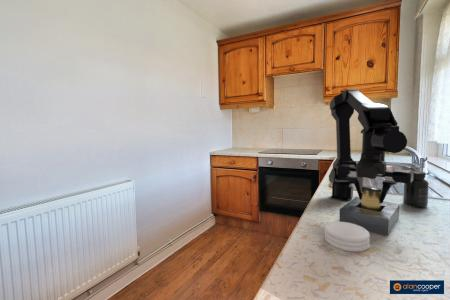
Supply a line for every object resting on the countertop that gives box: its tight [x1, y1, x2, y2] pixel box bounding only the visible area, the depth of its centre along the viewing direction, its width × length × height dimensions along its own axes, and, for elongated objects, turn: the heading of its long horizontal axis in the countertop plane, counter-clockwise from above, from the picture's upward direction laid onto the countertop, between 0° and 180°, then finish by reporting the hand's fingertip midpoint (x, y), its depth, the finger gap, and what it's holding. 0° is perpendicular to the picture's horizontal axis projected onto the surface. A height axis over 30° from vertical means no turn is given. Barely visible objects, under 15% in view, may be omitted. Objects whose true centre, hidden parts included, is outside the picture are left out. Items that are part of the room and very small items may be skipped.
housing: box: [338, 196, 401, 237], centre depth 71 cm, size 12×16×4 cm
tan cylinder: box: [361, 185, 382, 212], centre depth 71 cm, size 5×5×10 cm
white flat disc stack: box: [324, 221, 371, 253], centre depth 59 cm, size 10×10×4 cm
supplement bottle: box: [402, 170, 430, 209], centre depth 83 cm, size 7×7×12 cm
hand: (371, 201), depth 71 cm, fingers closed on tan cylinder, 5 cm apart
